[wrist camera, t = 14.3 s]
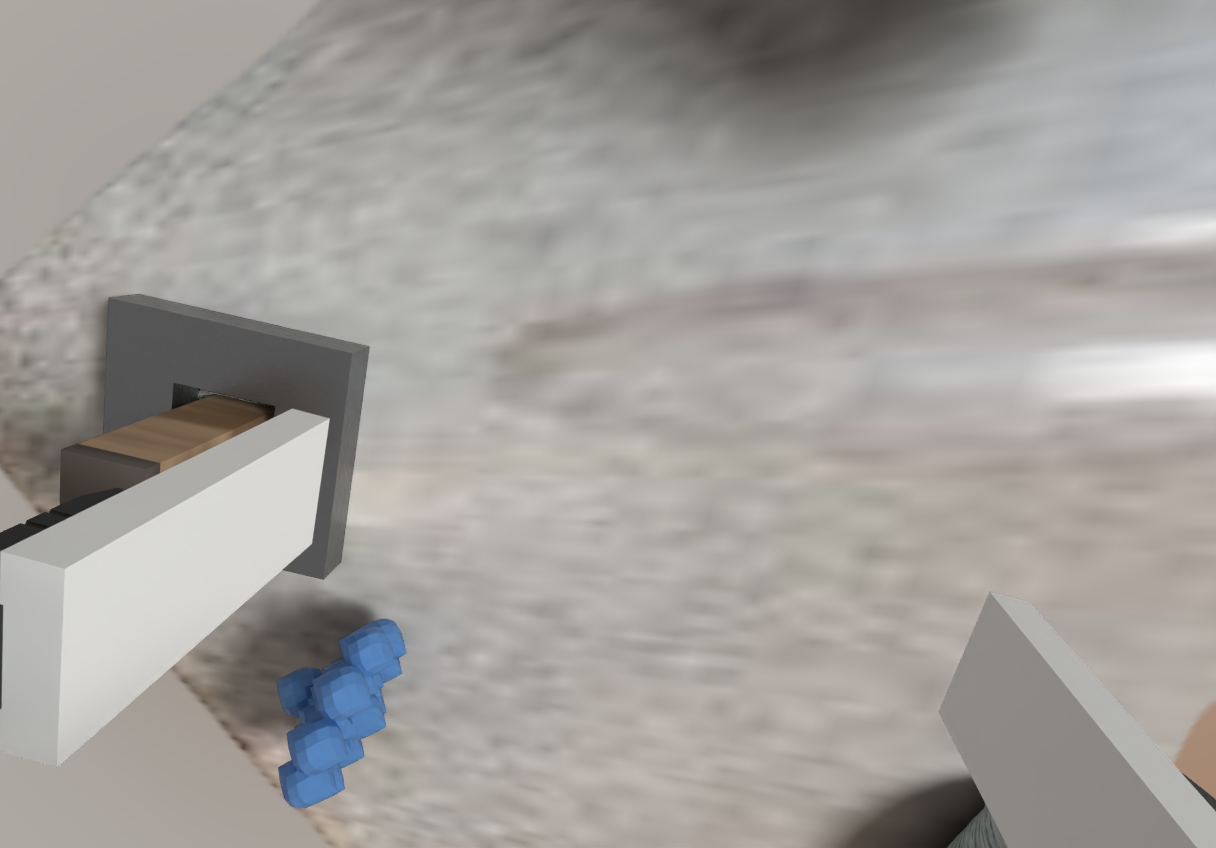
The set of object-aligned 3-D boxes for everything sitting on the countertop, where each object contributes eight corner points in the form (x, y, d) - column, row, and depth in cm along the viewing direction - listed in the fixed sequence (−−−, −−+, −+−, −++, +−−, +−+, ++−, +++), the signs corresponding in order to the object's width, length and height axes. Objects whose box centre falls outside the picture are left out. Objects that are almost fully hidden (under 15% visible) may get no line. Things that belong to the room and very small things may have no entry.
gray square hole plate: (138, 293, 45) (108, 297, 43) (369, 346, 45) (352, 353, 42) (127, 511, 49) (99, 526, 46) (340, 561, 48) (323, 579, 46)
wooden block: (214, 393, 46) (61, 449, 35) (278, 408, 46) (146, 469, 34) (209, 455, 47) (59, 530, 36) (272, 470, 47) (141, 549, 35)
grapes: (349, 551, 48) (247, 654, 36) (449, 593, 48) (378, 709, 37) (297, 699, 51) (187, 837, 39) (391, 738, 51) (309, 887, 40)
